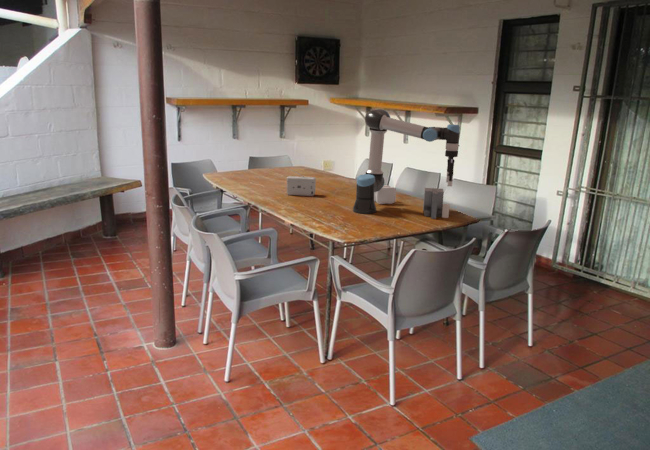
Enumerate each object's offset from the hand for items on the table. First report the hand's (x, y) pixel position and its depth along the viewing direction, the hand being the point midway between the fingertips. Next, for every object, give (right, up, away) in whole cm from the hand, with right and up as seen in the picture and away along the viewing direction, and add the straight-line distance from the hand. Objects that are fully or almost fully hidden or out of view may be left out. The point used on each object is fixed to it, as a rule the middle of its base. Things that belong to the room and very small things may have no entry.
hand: (449, 184), depth 327 cm
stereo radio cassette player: (-95, -3, +61) cm, 113 cm away
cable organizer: (-37, -10, +42) cm, 57 cm away
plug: (-7, -20, +7) cm, 22 cm away
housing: (-7, -18, +14) cm, 24 cm away
